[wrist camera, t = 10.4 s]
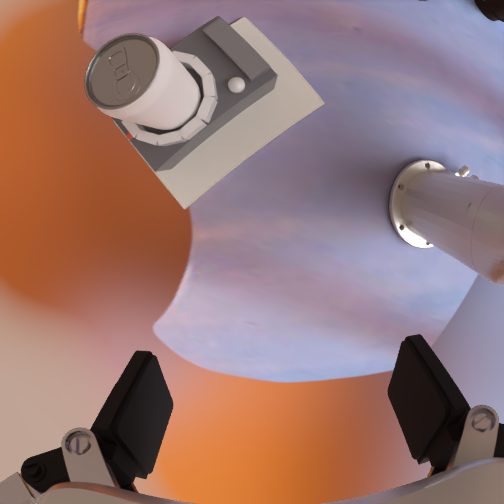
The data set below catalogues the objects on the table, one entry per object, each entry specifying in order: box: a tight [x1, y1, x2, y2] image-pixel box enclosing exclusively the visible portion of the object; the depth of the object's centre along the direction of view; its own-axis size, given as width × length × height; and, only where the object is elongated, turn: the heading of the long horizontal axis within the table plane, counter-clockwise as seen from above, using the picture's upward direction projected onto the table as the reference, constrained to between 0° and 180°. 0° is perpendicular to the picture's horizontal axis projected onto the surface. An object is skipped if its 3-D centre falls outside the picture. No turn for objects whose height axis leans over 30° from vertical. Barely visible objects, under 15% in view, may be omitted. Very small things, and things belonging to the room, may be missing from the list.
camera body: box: [112, 16, 278, 172], centre depth 26 cm, size 16×10×8 cm, turn 128°
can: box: [84, 33, 201, 130], centre depth 19 cm, size 6×6×12 cm
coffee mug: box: [475, 0, 504, 22], centre depth 15 cm, size 12×9×10 cm
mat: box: [113, 17, 325, 209], centre depth 30 cm, size 22×16×1 cm
